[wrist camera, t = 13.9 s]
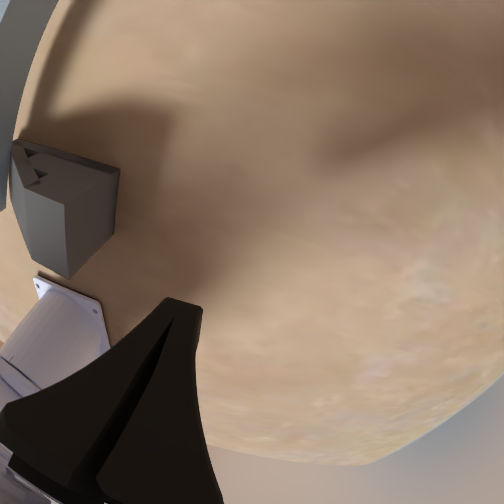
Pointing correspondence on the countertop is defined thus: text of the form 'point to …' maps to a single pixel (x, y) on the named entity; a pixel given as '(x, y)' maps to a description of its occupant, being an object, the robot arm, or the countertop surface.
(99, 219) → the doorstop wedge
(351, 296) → the countertop surface
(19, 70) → the long pale blue beam
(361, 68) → the countertop surface
